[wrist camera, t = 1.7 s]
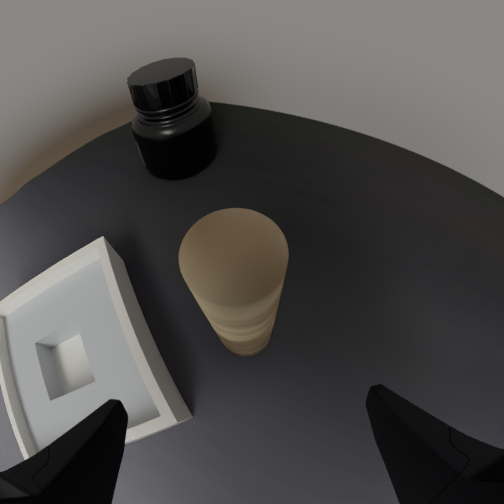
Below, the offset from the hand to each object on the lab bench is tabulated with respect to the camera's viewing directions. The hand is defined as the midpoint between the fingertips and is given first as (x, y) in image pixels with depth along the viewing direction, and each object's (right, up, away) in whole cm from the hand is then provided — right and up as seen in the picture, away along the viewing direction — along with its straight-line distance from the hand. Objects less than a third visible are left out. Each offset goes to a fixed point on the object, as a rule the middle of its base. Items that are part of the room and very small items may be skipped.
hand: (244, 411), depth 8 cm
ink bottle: (-8, +17, +23) cm, 30 cm away
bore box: (-15, -5, +11) cm, 19 cm away
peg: (0, -1, +13) cm, 13 cm away
